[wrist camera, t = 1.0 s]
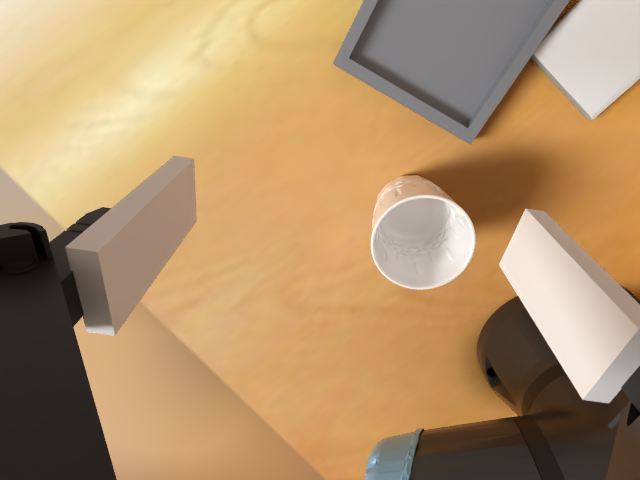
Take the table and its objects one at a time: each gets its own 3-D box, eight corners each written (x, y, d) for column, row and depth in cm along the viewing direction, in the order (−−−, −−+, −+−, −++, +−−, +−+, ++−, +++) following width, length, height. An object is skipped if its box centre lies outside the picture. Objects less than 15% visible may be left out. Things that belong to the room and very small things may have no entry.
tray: (572, -17, 30) (586, -24, 28) (465, 141, 35) (470, 144, 33) (422, -114, 29) (426, -128, 27) (334, 65, 34) (332, 63, 32)
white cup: (428, 153, 36) (450, 175, 27) (461, 222, 38) (492, 265, 29) (355, 191, 38) (352, 224, 29) (390, 255, 40) (398, 304, 31)
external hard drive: (523, 54, 33) (662, -86, 28) (584, 119, 34) (725, -5, 30) (531, 52, 31) (678, -96, 27) (594, 120, 32) (744, -10, 28)
